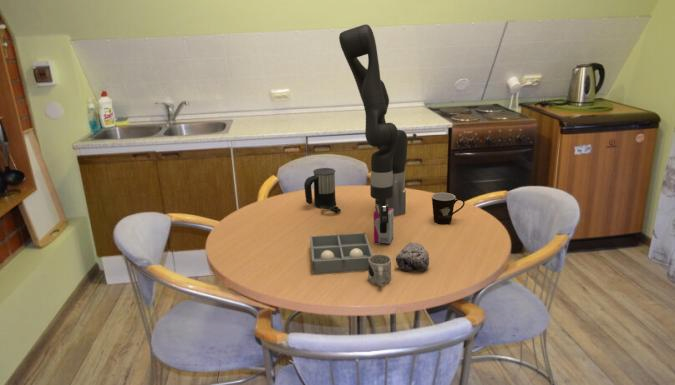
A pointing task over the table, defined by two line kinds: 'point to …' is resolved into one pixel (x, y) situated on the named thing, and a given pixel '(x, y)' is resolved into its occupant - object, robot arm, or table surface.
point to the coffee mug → (444, 207)
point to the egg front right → (327, 255)
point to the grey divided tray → (340, 253)
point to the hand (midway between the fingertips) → (381, 227)
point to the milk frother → (322, 189)
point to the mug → (379, 269)
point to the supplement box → (389, 235)
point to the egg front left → (356, 253)
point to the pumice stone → (413, 257)
